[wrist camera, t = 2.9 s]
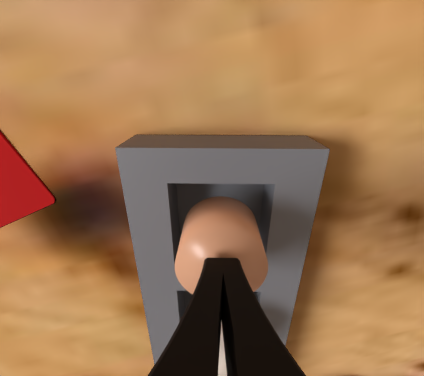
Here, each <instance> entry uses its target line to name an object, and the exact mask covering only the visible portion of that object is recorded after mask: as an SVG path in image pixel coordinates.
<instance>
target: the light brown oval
mask: <svg viewBox="0 0 424 376" xmlns="http://www.w3.org/2000/svg"><path fill="white" fill-rule="evenodd" d="M206 258H238V259H239V260H240V263H241V266H242V268H243V271H244V273H245V276H246V278H247V280H248V282H249V284H250V287H251V289H252V291H253V292H255V291H256V290H257V289H258V288H259V287H260V286H261V285H262V284H263V282H264V280H265V278H266V276H267V273H268V260H267V257H266V253H265V250H264V246H263V243H262V240H261V236H260V233H259V229H258V226H257V222H256V219H255V216H254V214H253V213H252V211H251V210H250V209H249V207H248V206H246V205H245V204H244V203H242V202H241V201H239V200H237V199H234V198H230V197H224V196H216V197H210V198H207V199H204V200H202V201H200V202H198V203H197V204H196V205H194V206H193V207H192V208H191V209H190V211H189V212H188V214H187V215H186V218H185V221H184V225H183V229H182V234H181V238H180V242H179V247H178V251H177V255H176V260H175V273H176V276H177V279H178V281H179V282H180V284H181V285H182V286H183V287H184V288H185V289H186V290H187V291H188V292H190V293H191V294H193V293H194V290H195V288H196V286H197V283H198V280H199V278H200V275H201V272H202V268H203V264H204V260H205V259H206Z"/></svg>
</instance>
